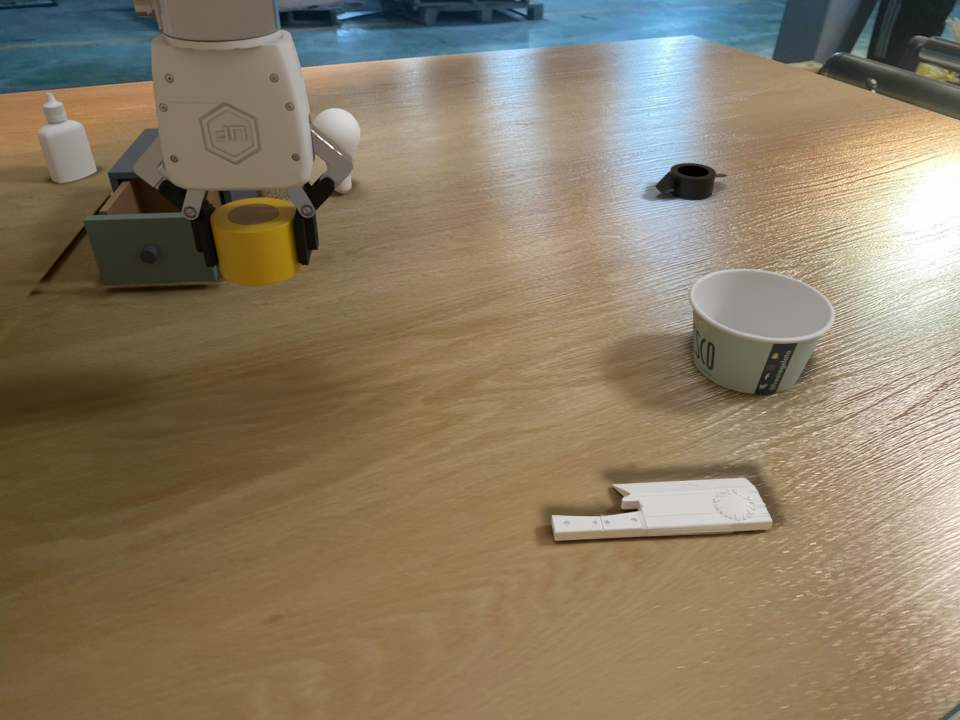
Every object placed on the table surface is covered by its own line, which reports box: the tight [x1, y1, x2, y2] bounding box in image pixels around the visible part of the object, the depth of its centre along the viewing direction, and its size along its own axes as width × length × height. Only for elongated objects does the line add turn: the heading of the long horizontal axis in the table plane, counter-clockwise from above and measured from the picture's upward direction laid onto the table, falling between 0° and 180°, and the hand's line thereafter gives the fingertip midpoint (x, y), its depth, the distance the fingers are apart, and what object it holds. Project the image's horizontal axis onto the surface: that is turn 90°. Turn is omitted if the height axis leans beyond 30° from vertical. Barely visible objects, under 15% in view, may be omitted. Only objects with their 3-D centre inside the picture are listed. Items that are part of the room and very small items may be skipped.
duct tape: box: [654, 162, 728, 201], centre depth 100 cm, size 8×10×3 cm
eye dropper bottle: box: [37, 92, 98, 184], centre depth 100 cm, size 4×6×12 cm
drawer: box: [82, 178, 226, 286], centre depth 82 cm, size 15×11×7 cm
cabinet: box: [107, 127, 261, 204], centre depth 91 cm, size 15×13×9 cm
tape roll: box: [210, 197, 304, 287], centre depth 59 cm, size 6×6×4 cm
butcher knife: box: [550, 477, 773, 542], centre depth 54 cm, size 5×15×1 cm, turn 94°
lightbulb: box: [312, 107, 362, 195], centre depth 97 cm, size 6×6×11 cm
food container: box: [688, 268, 836, 395], centre depth 67 cm, size 12×12×7 cm
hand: (260, 256), depth 60 cm, fingers closed on tape roll, 6 cm apart
